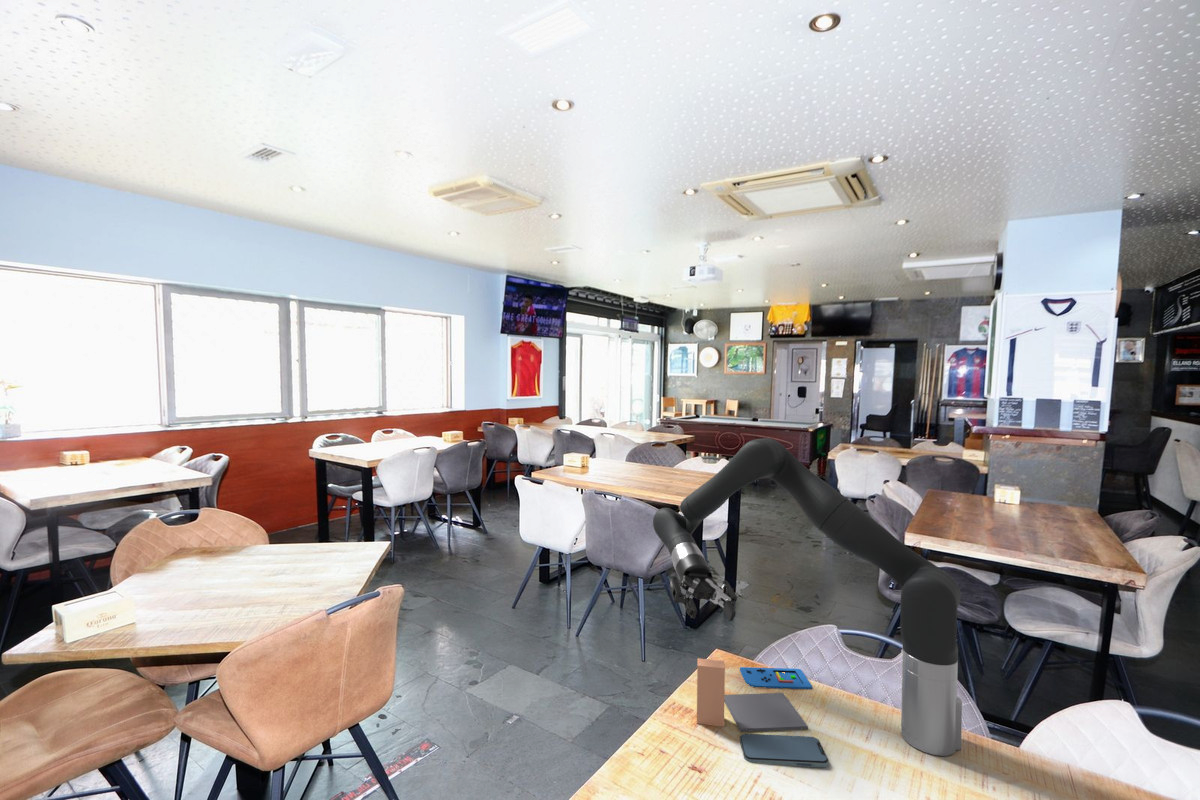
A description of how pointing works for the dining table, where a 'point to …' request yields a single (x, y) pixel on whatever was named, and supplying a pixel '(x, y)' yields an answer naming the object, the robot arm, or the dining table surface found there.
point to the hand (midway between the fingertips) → (713, 616)
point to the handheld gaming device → (775, 678)
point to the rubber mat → (763, 712)
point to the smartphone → (783, 750)
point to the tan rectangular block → (710, 692)
